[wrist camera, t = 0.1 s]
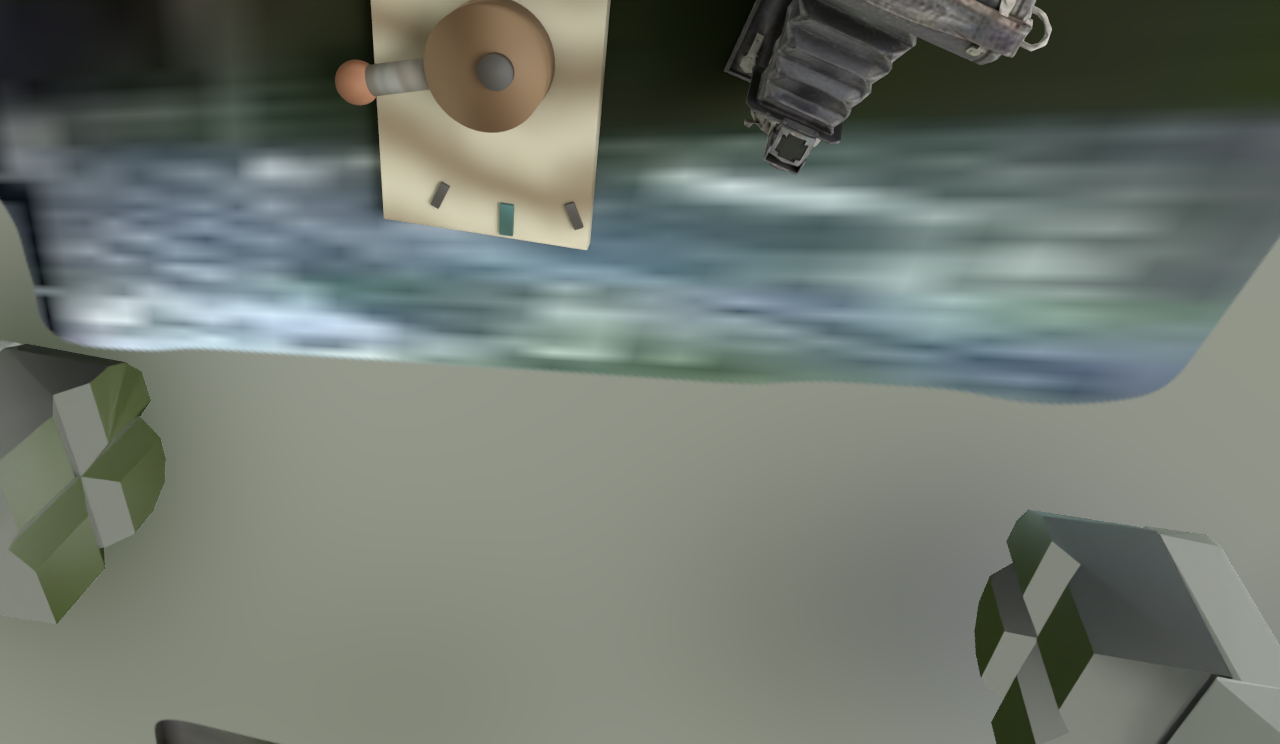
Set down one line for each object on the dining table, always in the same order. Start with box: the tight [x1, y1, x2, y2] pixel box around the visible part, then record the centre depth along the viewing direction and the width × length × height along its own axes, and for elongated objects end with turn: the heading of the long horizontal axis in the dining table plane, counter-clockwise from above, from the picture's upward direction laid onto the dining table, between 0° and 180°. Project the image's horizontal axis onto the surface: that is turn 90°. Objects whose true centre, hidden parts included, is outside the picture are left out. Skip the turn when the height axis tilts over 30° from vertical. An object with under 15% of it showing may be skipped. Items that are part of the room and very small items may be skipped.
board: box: [371, 0, 611, 250], centre depth 53 cm, size 24×14×2 cm, turn 174°
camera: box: [724, 0, 1052, 174], centre depth 43 cm, size 11×17×20 cm, turn 157°
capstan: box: [335, 0, 555, 133], centre depth 51 cm, size 13×7×4 cm, turn 99°
